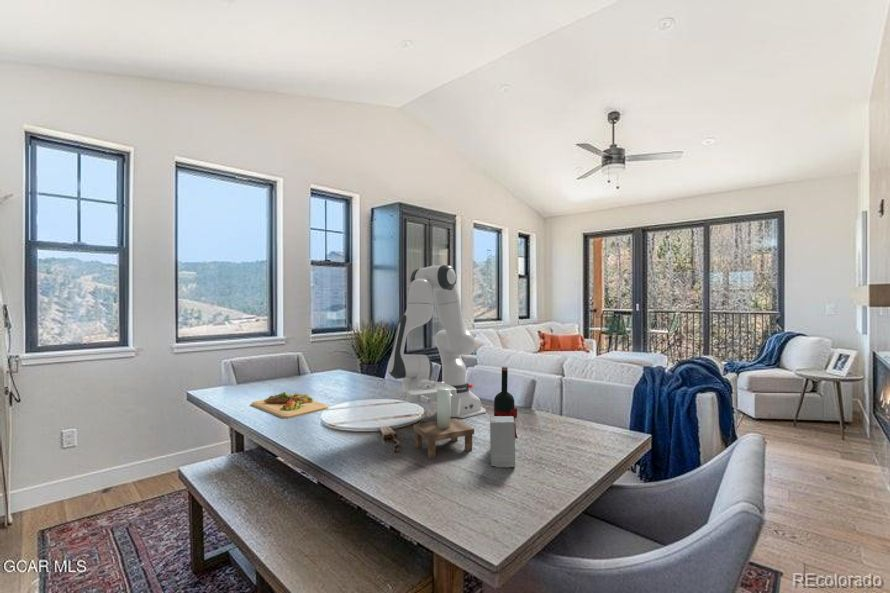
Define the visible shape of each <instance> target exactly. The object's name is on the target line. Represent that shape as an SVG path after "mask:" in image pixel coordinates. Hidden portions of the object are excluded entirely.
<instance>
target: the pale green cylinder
mask: <svg viewBox="0 0 890 593" xmlns="http://www.w3.org/2000/svg"><path fill="white" fill-rule="evenodd" d="M436 405H437V406H436V421H437V428H440V429H448V428H450V422H451V419H452V417H451V389H450V388H445V387H442V388H438V389H437V400H436Z"/></svg>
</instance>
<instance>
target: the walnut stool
mask: <svg viewBox="0 0 890 593" xmlns="http://www.w3.org/2000/svg"><path fill="white" fill-rule="evenodd" d="M413 431H414V432H415V433H414V434H415V435H414V436H415V438H414V440H415V442H414V444H415V445H414V447H416V448H417V449H418V448H422V447H423V438H424V439H425V440H426V441H427V457H428V458H429V459H434V458H436V442H437V441H442V440H443V441H444V440H449V439H450V441H451V442H457V441H459V440H458V438H460V437H464V450H465V451H466V452H471V451H473V435H475V428H473V427H472V426H471V425H468V424H467V423H465V422H463V421H461V420H459V419H457V417H454V418H451V422H450V428H448V429H440V428H437V420H436V421H429V422H423V423H417V424H413Z"/></svg>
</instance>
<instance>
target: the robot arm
mask: <svg viewBox="0 0 890 593" xmlns="http://www.w3.org/2000/svg"><path fill="white" fill-rule="evenodd" d="M409 280H410V285H409V289H408V296H407V306H406V310H405V312H404V314H403V315H401V316H400V317H399V319H398V322H397V326H396V329H395V330H396V331H395V334H394V340H393V343H392V344H393V345H392V348H391V353H390V356H389V359H388V363H387V372H388V373H389V375H390V376H391V377H392V378H394V379H395V380H399V379H400V380H401V379H402V380H401V386H402V390H403V391H404V393H402V397H403V398H405V400H406V401H407V403H409V404H417V403H418V404H420V403H422V404H429V403H432V402H433V401H434V402H435V401H437V389H438V388H442V387H445V388H450V389H451V418H460V419H465V418H470V417H473V416H479V415H481V414H486V412H487V411H486V408H484V407H483V406H482V403H481V399H480V398H479V397H478V396H477V395H475V394H474V393H473V391H471V390H470V389H473V388H474V385H473V384H472V383H467V381H466V380H467V366H466V364H465V363H464V360H463V358H462V356H468V355H471V354H472V353H473V352H474V351H475V349H476V343H477V342H476V339H475V337H474V335H472V333H471V332H470V331H469V329H468V327H467V324H466V321H465V319H464V316H463V311H462V306H461V305H462V304H461V299H460V294H459V290H458V288H457V284H456V283H457V273H456V271H455V269H454V268H453V266H451V265H447V264H443V265H431V266H426V267H419V268H417V269H415V270H413V271H412V272H411V275H410V279H409ZM434 296H435V304H436V305H435V306H436V309H437V316H438V320H439V322H440V323H441V325H442V326H443V328H444V329H440V330H439V331H437V332H436V334H435V335H434V339H433V340H434V345H435V346H436V348H437V350H438V352H439V356H440V361H441V366H442V367H441V368H442V369H441V370H442V373H441V374H442V375H441V376H442V378H441V379H442V380H441V381H439V380H431V378H432V375H433V370H434V369H433V368H434V366H433V363H432V361H431V359H430V357H429V356H428V355H427V354H408V353H407V354H406V353H405V354H404V351H405V347H406V343H407V342H406V341H407V337H408V334H409V332H410V331H412V330H413V329H416V328H418V327H421V326H423V325H424V326H425V325H426V324H427V323H429V321H430V320H431V319H432V317H433V315H434Z"/></svg>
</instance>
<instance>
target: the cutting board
mask: <svg viewBox="0 0 890 593" xmlns="http://www.w3.org/2000/svg"><path fill="white" fill-rule="evenodd" d="M251 407H255V408H258V409H259V410H262V411H264V412H267V413H270V414H272V415H273V416H274V415H275V416H277V417H280V418H282V419H293V418H296V417H301V416H305V415H310V414H313V413H318V412H321V411H326V410H328V409H329V405H327V404H325V403H321V402H318V401H316V400H314V399H313V398H312V397H310V396H309V394H307V393H304V394H300V393H297V392H296V393H293V394H287V392H286V391H283V392H280V393H279V394H276V395H270V396H268V398H267V397H266V398H264V399H260V400H256V401H252V402H251Z"/></svg>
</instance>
